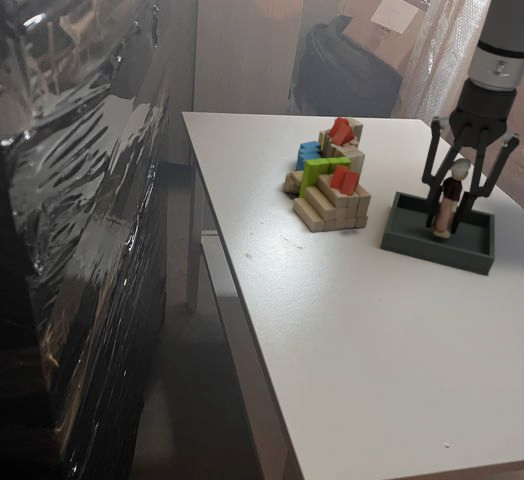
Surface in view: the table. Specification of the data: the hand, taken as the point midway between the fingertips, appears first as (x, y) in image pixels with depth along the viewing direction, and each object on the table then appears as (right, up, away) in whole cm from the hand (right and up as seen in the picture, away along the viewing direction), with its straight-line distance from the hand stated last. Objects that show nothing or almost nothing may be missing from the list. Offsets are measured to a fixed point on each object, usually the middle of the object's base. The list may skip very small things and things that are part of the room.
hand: (440, 226), depth 98 cm
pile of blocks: (-19, +10, +12) cm, 25 cm away
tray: (0, -2, +2) cm, 2 cm away
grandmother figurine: (0, -1, +1) cm, 1 cm away
